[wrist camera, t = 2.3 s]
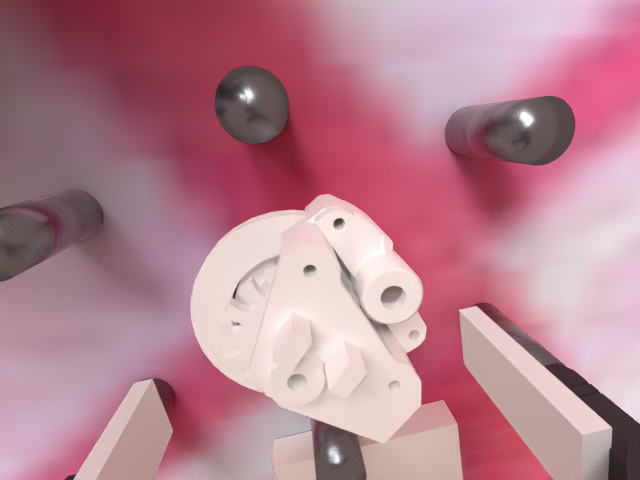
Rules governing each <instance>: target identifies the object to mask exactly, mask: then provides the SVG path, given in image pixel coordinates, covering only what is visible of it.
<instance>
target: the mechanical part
mask: <svg viewBox="0 0 640 480" xmlns="http://www.w3.org/2000/svg"><path fill="white" fill-rule="evenodd" d="M423 295H424V289H423V285H422V282H421V280H420V278H419V277H418V276H417V275H416V273H415V272H414V271H413V270H412V269H411V268H410V267H409V266H408V265H407V264H406V263H405V262H404V260H403V259H402V258H401V257H400V256H399V255H398V254H397V253H396V252H395V251H394V250H393V242H392V240H391V239H390V238H389V237H388V236H387V235H386V234H385V233H384V232H383V231H382V230H381V229H380V228H379V227H378V225H377V224H376V223H375V222H374V221H373V220H372V219H371V218H370V217H369V216H368V215H367V214H365V213H364V212H363V211H361V210H360V209H358V208H357V207H356V206H354V205H353V204H351V203H349V202H347V201H345V200H344V201H343V200H341V199H339V198H337V197H334V196H332V195H330V194H324V195H318V196H317V197H316V198H315V199H314V200H313V201H312V202H311V203H310V204H309V205H307V206H306V207H305V211H303V210H283V211H274V212H269V213H266V214H263V215H260V216H256V217H253V218H251V219H249V220H247V221H245V222H244V223H242V224H240V225H238V226H236V227H234V228H233V229H232V230H231V231H230V232H229V233H227V234H226V235H225V236H224V237H223V238H221V239H220V240H219V242H218V243H217V244H216V245H215V247H214V248H213V249H212V251H211V252H210V253H209V254H208V256H207V258H206V259H205V261H204V262H203V264H202V266H201V268H200V271H199V273H198V275H197V277H196V279H195V282H194V286H193V291H192V295H191V320H192V325H193V329H194V334H195V336H196V338H197V340H198V342H199V345H200V347H201V349H202V351H203V352H204V353H205V355H206V356H207V357H208V359H209V360H210V361H211V362H212V364H213V365H214V366H215V367H216V368H218V369H219V370H220V371H221V372H222V373H223V374H224V375H226V376H227V377H228V378H230V379H232V380H233V381H235V382H237V383H239V384H240V385H242V386H245V387H247V388H250V389H252V390H255V391H258V392H262V393H265V394H264V395H265V396H268V397H271V398H272V399H273V400H274V401H275V402H276V403H277V404H278V405H279V406H280V407H282V408H285V409H288V410H291V411H293V412H296V413H299V414H302V415H305V416H307V417H310V418H313V419H316V420H319V421H322V422H324V423H327V424H330V425H333V426H336V427H338V428H341V429H344V430H347V431H350V432H352V433H355V434H358V435H361V436H364V437H366V438H369V439H372V440H375V441H378V442H380V443H383V444H385V443H386V442H387V441H388V439H389V438H390V437H391V436H392V435H393V434H394V433H395V432H396V431H397V430H398V429H399V428H400V427H401V426H402V425H403V424H404V423H405V422H406V421H407V420H408V419H409V418H410V416H411V415H412V414H413V413H414V412H415V411H416V410H417V409H418V408H419V407H420V406H421V380H420V378H419V376H418V375H417V373H416V371H415V369H414V367H413V365H412V364H411V362H410V360H409V358H408V356H407V354H406V353H408V352H410V351H411V350H413V349H414V348H416V347H418V346H419V345H420V344H421V343H422V342H423V341H424V340H425V337H426V327H427V326H426V325H425V323H424V322H423V320H422V319H421V317H420V314H419V313H418V309H419V307H420V305H421V303H422V300H423ZM404 350H405V351H404ZM405 352H406V353H405Z"/></svg>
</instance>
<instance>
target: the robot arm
mask: <svg viewBox="0 0 640 480" xmlns="http://www.w3.org/2000/svg"><path fill="white" fill-rule="evenodd" d="M459 316H460V327H461V338H462V348H463V359H464V365H465V366H466V368H467V369H468V370H469V371H470V373H471V374H472V375H473V377H474V378H475V379H476V380H477V382H478V383H479V384H480V386H481V387H482V388H483V390H484V391H485V392H486V393H487V395H488V396H489V397H490V399H491V400H492V401H493V402H494V404H495V405H496V406H497V408H498V409H499V410H500V411H501V413H502V414H503V415H504V417H505V418H506V419H507V421H508V422H509V423H510V424H511V426H512V427H513V428H514V430H515V431H516V432H517V433H518V435H519V436H520V437H521V439H522V440H523V441H524V442H525V444H526V445H527V446H528V448H529V449H530V450H531V452H532V453H533V454H534V455H535V457H536V458H537V459H538V461H539V462H540V463H541V464H542V466H543V467H544V468H545V470H546V471H547V472H548V473H549V475H550V476H551V477H552V479H553V480H640V424H639V423H638V422H636V421H635V420H634V419H633V418H632V417H630V416H629V415H628V414H627V413H625V412H624V411H623V410H622V409H621V408H619V407H618V406H617V405H616V404H614V403H613V402H612V401H611V400H609V399H608V398H607V397H606V396H605V395H603V394H602V393H601V394H600V392H599V391H598V390H597V389H596V388H595V387H594V386H592V385H591V384H588V382H587V381H586V380H585V379H584V378H583V377H581V376H580V375H579V374H578V373H576V372H575V371H574V370H571V369H569V368H567V367H565V366H563V365H561V364H559V363H554V364H549V365H545V366H543V365H542V364H540V363H539V362H538V361H537V360H536V359H535V358H534V357H533V356H532V355H530V354H529V353H528V352H527V351H526V350H525V349H524V348H523V347H521V346H520V345H519V344H518V343H517V342H516V341H515V340H514V339H513V338H511V337H510V336H509V335H508V334H507V333H506V332H505V331H504V330H503V329H501V328H500V327H499V326H498V325H497V324H496V323H495V322H494V321H493V320H491V319H490V318H489V317H488V316H487V315H486V314H485V313H484V312H482V311H481V310H480V309H479V308H478V307H477V306H474V307H470V308H465V309H461V310H459ZM172 433H173V429H172V426H171V424H170V421H169V419H168V416H167V414H166V411H165V409H164V406H163V404H162V401H161V399H160V396H159V394H158V391H157V389H156V386H155V384H154V381H153V379H148V380H144V381H139V382H135V383H134V384H133V385H132V387H131V388H130V390H129V392H128V393H127V395H126V396H125V398H124V400H123V401H122V403H121V404H120V406H119V408H118V409H117V411H116V412H115V414H114V416H113V417H112V419H111V420H110V422H109V424H108V425H107V427H106V428H105V430H104V432H103V433H102V435H101V436H100V438H99V439H98V441H97V443H96V444H95V446H94V447H93V449H92V451H91V452H90V454H89V455H88V457H87V459H86V460H85V462H84V463H83V465H82V467H81V468H80V470H79V471H78V473H77V474H75V475H71V476H68V477H67V478H66V479H65V480H154V479H155V476H156V474H157V471H158V469H159V466H160V464H161V461H162V458H163V456H164V453H165V451H166V448H167V446H168V443H169V440H170V438H171V435H172Z"/></svg>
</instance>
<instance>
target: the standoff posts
mask: <svg viewBox="0 0 640 480" xmlns="http://www.w3.org/2000/svg"><path fill="white" fill-rule="evenodd" d="M215 109H216V114H217V117H218V119H219V121H220V123H221V125H222V127H223V128H224V129H225V130H226V132H228V133H229V134H230V135H231V136H232V137H234V138H235V139H237V140H239V141H241V142H245V143H249V144H259V143H264V142H267V141H269V140H271V139H273V138H274V137H276V136H277V135H278V134H280V133H281V132H282V130H283V129H284V127H285V125H286V122H287V118H288V114H289V101H288V97H287V93H286V91H285V89H284V87H283V85H282V83H281V82H280V81H279V80H278V79H277V77H276V76H274V75H273V74H272V73H270V72H269V71H267V70H265V69H263V68H260V67H255V66H244V67H240V68H237V69H235V70H233V71H231V72H230V73H228V74H227V75H226V76H225V77H224V78H223V80H222V81H221V83H220V84H219V86H218V89H217V92H216V96H215ZM574 131H575V118H574V114H573V111H572V109H571V107H570V106H569V105H568V104H567V103H566V102H565V101H564V100H562V99H561V98H558V97H554V96H544V97H537V98H529V99H522V100H514V101H507V102H499V103H492V104H484V105H476V106H469V107H464V108H461V109H459V110H458V111H456V112H455V113H454V114H453V115H452V116H451V117H450V119H449V121H448V123H447V125H446V129H445V139H446V142H447V145H448V146H449V148H450V149H451V150H452V151H453V152H455V153H456V154H459V155H464V156H471V157H478V158H486V159H493V160H500V161H507V162H515V163H522V164H529V165H544V164H548V163H550V162H552V161H554V160H556V159H557V158H559V157H560V156H561V155H562V154H563V153H564V152H565V151H566V149H567V148H568V146H569V145H570V143H571V141H572V138H573V135H574ZM102 221H103V214H102V210H101V207H100V205H99V204H98V202H97V201H96V200H95V199H94V198H93V197H92V196H91V195H89V194H87V193H85V192H83V191H80V190H66V191H62V192H58V193H55V194H51V195H47V196H44V197H40V198H36V199H32V200H29V201H25V202H21V203H18V204H14V205H10V206H7V207H3V208H0V282H1V281H6V280H8V279H11V278H13V277H15V276H16V275H18V274H20V273H22V272H24V271H26V270H28V269H29V268H31V267H33V266H35V265H37V264H39V263H41V262H42V261H44V260H46V259H48V258H50V257H52V256H54V255H55V254H57V253H59V252H61V251H63V250H65V249H67V248H68V247H70V246H72V245H74V244H76V243H78V242H79V241H81V240H83V239H85V238H87V237H89V236H91V235H92V234H94V233H95V232H97V231H98V230H99V228H100V227H101V224H102ZM474 306H477V307H478V308H479V309H480V310H481V311H482V312H484V313H485V314H486V315H487V316H488V317H489V318H490V319H491V320H493V321H494V322H495V323H496V324H497V325H498V326H499V327H500V328H501V329H503V330H504V331H505V332H506V333H507V334H508V335H509V336H510V337H511V338H513V339H514V340H515V341H516V342H517V343H518V344H519V345H520V346H521V347H523V348H524V349H525V350H526V351H527V352H528V353H529V354H530V355H532V356H533V357H534V358H535V359H536V360H537V361H538V362H539V363H540V364H542V365H543V366H545V365H549V364H554V363H559V364H561V365H563V366H565V365H564V364H563V363H561V362H560V361H559V360H558V359H557V358H555V357H554V356H553V355H552V354H551V353H549V352H548V351H547V350H546V349H545V348H543V347H542V346H541V345H540V344H539V343H537V342H536V341H535V340H534V339H533V338H531V337H530V336H529V335H528V334H527V333H526V332H524V331H523V330H522V329H521V328H520V327H518V326H517V325H516V324H515V323H514V322H512V321H511V320H510V319H509V318H508V317H506V316H505V315H504V314H503V313H502V312H500V311H499V310H498V309H497V308H496V307H494V306H493V305H491V304H488V303H479V304H476V305H474ZM474 306H472V307H474ZM565 367H566V366H565ZM151 379H152V378H151ZM145 380H148V379H145ZM142 381H144V380H142ZM153 381H154V384H155V386H156V389H157V391H158V394H159V396H160V399H161V401H162V404H163V406H164V409H165V411H166V414H167V416H168V413H169V411H170V408H171V406H172V403H173V401H174V392H173V389H172V388H171V386H170V385H169V384H167V383H166V382H164V381H162V380H159V379H153ZM311 428H312V439H313V450H314V461H315V472H316V480H366V478H367V473H366V469H365V465H364V461H363V456H362V452H361V448H360V444H359V440H358V436H357V434H355V433H352V432H350V431H347V430H344V429H341V428H338V427H336V426H333V425H330V424H327V423H324V422H322V421H319V420H316V419H313V418H311Z"/></svg>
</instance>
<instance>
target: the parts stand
mask: <svg viewBox="0 0 640 480" xmlns="http://www.w3.org/2000/svg"><path fill="white" fill-rule="evenodd" d="M357 436H358V440H359V444H360V448H361V452H362V456H363V461H364V465H365V469H366V473H367V478H366V480H463V475H462V464H461V454H460V444H459V434H458V424H457V422H456V420H455V419H454V417H453V415H452V414H451V412H450V410H449V409H448V407H447V405H446V403H445V402H444V400H440V401H436V402H431V403H427V404H423V405H421V406H420V407H419V408H418V409H417V410H416V411H415V412H414V413H413V414H412V415H411V416H410V418H409V419H408V420H407V421H406V422H405V423H404V424H403V425H402V426H401V427H400V428H399V429H398V430H397V431H396V432H395V433H394V434H393V435H392V436H391V437H390V438H389V439H388V441H387V442H386V443H385V444H383V443H380V442H378V441H375V440H372V439H369V438H366V437H364V436H361V435H358V434H357ZM273 470H274V473H275V476H276V479H277V480H316V472H315V461H314V450H313V439H312V431H308V432H304V433H300V434H295V435H291V436H287V437H283V438H279V439H274V447H273Z"/></svg>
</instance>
